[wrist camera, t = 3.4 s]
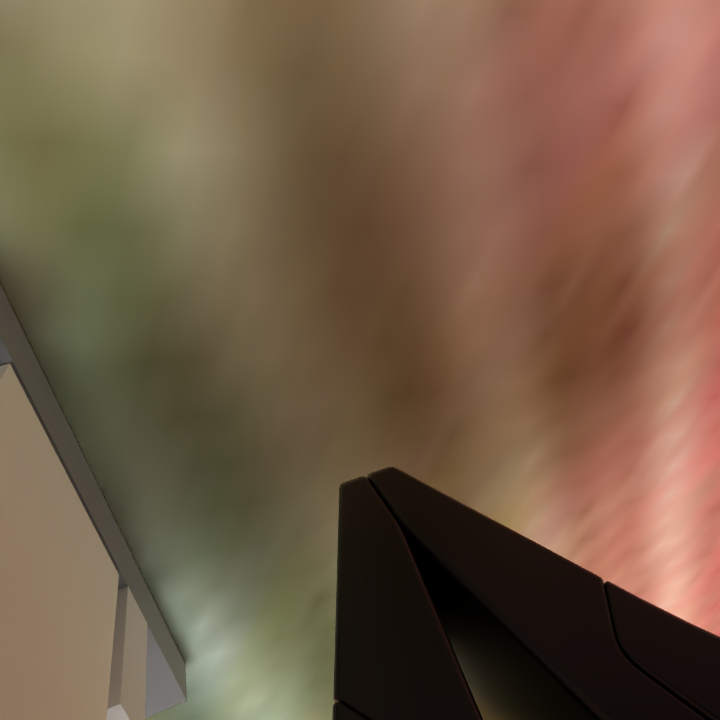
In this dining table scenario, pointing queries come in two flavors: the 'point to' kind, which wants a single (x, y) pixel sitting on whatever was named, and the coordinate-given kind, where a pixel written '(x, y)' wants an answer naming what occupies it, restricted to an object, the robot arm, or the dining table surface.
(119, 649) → the grey angular frame
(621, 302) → the dining table surface
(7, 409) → the beige angular block
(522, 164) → the dining table surface
